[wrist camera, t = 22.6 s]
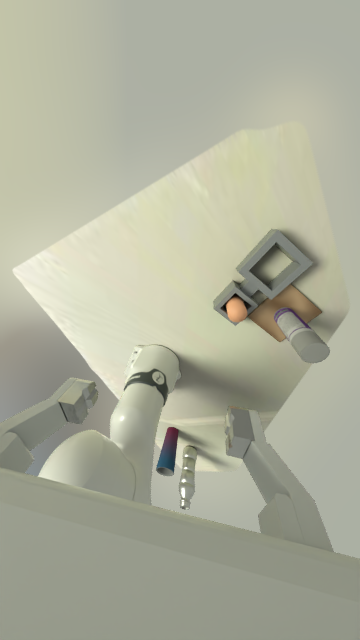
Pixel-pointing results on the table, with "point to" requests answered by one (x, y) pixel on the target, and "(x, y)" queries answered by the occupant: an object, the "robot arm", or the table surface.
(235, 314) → the peach cylinder
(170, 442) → the cup
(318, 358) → the container
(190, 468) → the plastic bottle
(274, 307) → the pad
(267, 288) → the housing
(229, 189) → the table surface
